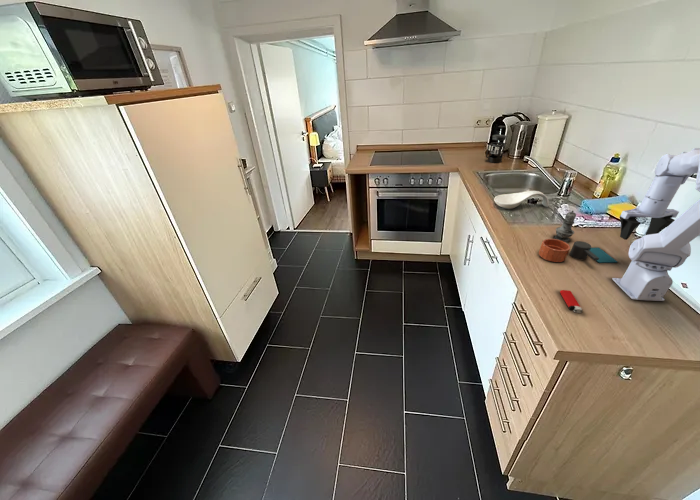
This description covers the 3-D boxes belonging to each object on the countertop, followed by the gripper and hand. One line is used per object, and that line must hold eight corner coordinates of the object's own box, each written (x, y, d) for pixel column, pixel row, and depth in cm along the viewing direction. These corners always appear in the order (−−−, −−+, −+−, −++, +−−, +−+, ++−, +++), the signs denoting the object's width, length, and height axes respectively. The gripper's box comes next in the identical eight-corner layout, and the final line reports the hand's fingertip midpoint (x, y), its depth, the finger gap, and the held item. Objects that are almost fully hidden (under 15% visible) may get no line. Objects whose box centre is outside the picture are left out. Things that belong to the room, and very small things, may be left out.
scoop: (566, 252, 102) (571, 241, 100) (580, 252, 102) (585, 240, 99) (584, 268, 94) (590, 256, 91) (599, 268, 94) (605, 256, 91)
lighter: (571, 290, 83) (583, 310, 77) (570, 294, 84) (582, 313, 77) (560, 289, 84) (571, 308, 77) (559, 293, 85) (570, 312, 78)
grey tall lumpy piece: (554, 233, 113) (564, 205, 107) (572, 237, 110) (583, 209, 104) (551, 239, 110) (562, 211, 103) (569, 244, 106) (582, 214, 100)
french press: (498, 159, 204) (506, 124, 192) (505, 162, 196) (513, 126, 184) (482, 160, 204) (488, 125, 192) (488, 163, 196) (495, 127, 184)
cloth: (598, 263, 96) (598, 262, 96) (581, 248, 103) (581, 247, 103) (617, 262, 96) (617, 261, 95) (598, 248, 103) (598, 247, 103)
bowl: (569, 263, 96) (575, 251, 94) (543, 262, 98) (548, 250, 95) (558, 250, 103) (563, 239, 100) (534, 250, 104) (538, 238, 102)
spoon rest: (497, 211, 133) (501, 197, 129) (489, 201, 143) (492, 188, 139) (551, 210, 130) (557, 196, 127) (539, 200, 140) (543, 186, 137)
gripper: (672, 191, 86) (649, 231, 94) (621, 193, 87) (603, 232, 94) (695, 200, 80) (669, 242, 88) (640, 202, 81) (619, 243, 88)
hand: (636, 237), depth 91 cm, fingers open, 7 cm apart
